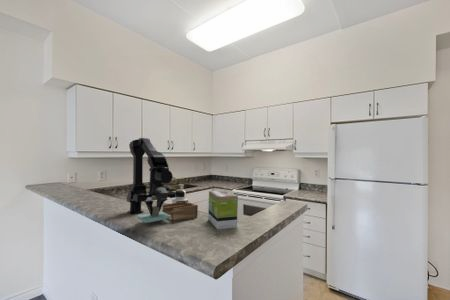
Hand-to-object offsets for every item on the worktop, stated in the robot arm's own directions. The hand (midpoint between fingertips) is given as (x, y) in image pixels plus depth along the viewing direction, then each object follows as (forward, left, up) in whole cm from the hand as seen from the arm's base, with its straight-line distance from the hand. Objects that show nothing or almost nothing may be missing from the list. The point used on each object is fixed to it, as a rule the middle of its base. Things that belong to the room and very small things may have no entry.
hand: (154, 214), depth 96 cm
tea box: (+21, +24, -4) cm, 32 cm away
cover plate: (0, 0, -2) cm, 2 cm away
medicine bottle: (-10, +20, -4) cm, 23 cm away
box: (0, +14, -4) cm, 15 cm away
